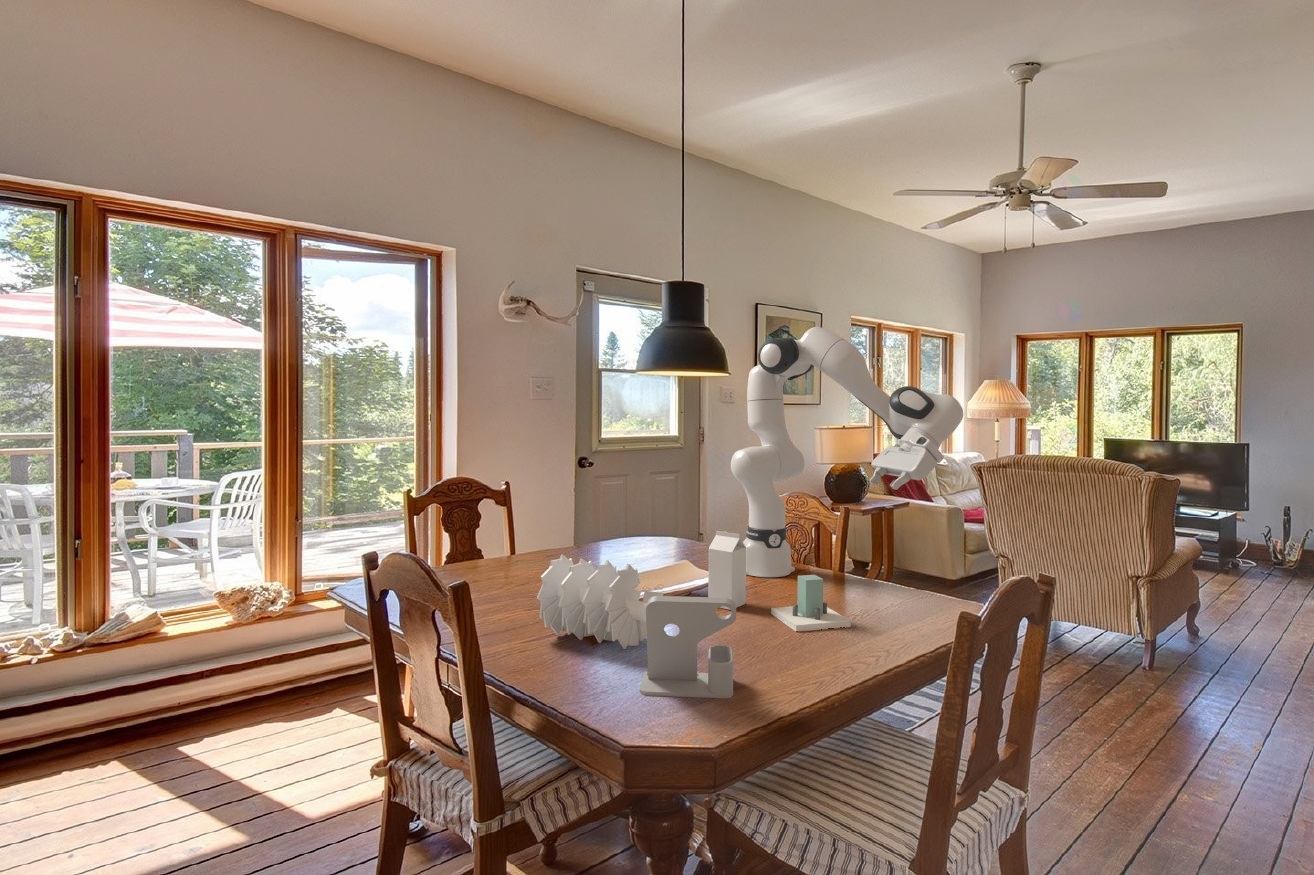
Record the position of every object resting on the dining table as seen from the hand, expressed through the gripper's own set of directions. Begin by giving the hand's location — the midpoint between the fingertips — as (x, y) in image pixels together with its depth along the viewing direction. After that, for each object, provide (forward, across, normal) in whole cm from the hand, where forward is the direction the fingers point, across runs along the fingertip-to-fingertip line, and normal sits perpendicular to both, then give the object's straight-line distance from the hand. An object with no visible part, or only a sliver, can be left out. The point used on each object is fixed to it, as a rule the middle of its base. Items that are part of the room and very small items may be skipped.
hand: (882, 485), depth 187 cm
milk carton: (+49, -10, -5) cm, 51 cm away
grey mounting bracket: (+68, +38, -23) cm, 81 cm away
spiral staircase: (+76, +8, -31) cm, 82 cm away
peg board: (+39, +7, +6) cm, 40 cm away
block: (+38, +7, +5) cm, 38 cm away
